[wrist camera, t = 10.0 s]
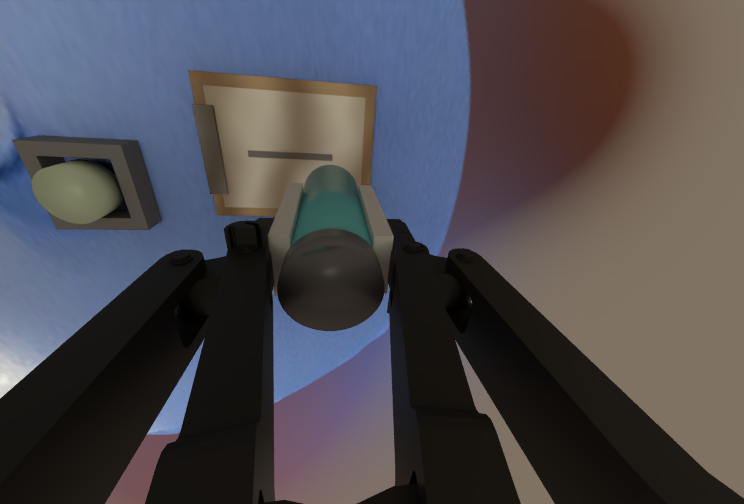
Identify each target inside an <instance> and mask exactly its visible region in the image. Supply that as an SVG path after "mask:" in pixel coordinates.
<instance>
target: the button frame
mask: <svg viewBox="0 0 744 504" xmlns="http://www.w3.org/2000/svg"><path fill="white" fill-rule="evenodd" d="M12 141H13V143H14V145H15V147H16V149H17V151H18V153H19V155H20V157H21V159H22V161H23V163H24V165H25V167H26V169H27V171H28V173H29V175H30V177H31V179H33V177H34V175H35V174H36V172H38V171H39V170H41V169H43V168H46V167H50V166H53V165H57V164H61V163H64V162H65V161H64V159H63V157H76V158H100V159H110V160H111V163H112V165H113V168H114V171H115V174H116V177H117V179H118V182H119V185H120V188H121V191H122V193H123V196H124V199H125V202H126V205H127V207H128V209H118V208H117V209H115V210H114V211H112V212H110V213H108V214H107V215H105V216H103V217H101V218H100V219H98V220H96V221H94V222H92V223H88V224H75V223H70V222H67V221H64V220H62V219H59V218H57V217H56V216H54V215H52V214H51V213H49V212H48V213H49V215H50V217H51V219H52V221H53V223H54V225H55V227H56V229H112V230H149V229H151V228H152V227H153V226H155V225H156V224H157V223H158V222H160V221H161V216H160V213H159V210H158V207H157V203H156V200H155V197H154V193H153V190H152V187H151V184H150V180H149V177H148V174H147V170H146V167H145V164H144V160H143V157H142V154H141V151H140V147H139V144H138V141H136V140H116V139H97V138H77V137H58V136H33V137H27V138H21V139H15V140H12Z"/></svg>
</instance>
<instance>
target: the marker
mask: <svg viewBox="0 0 744 504" xmlns="http://www.w3.org/2000/svg"><path fill="white" fill-rule="evenodd" d="M384 291H385V283H384V278H383V274H382V271H381V267H380V263H379V260H378V257H377V255H376V253H375V251H374V249H373V247H372V243H371V239H370V236H369V232H368V228H367V225H366V221H365V217H364V214H363V210H362V206H361V203H360V199H359V195H358V188H357V184H356V181H355V179H354V178H353V176H352V175H351V174H350V173H349V172H348V171H347V170H346V169H344V168H342V167H340V166H337V165H323V166H320V167H318V168H316V169H315V170H313V171H312V172H311V173H310V174H309V176H308V177H307V179H306V181H305V185H304V189H303V197H302V201H301V205H300V209H299V214H298V218H297V222H296V226H295V230H294V235H293V239H292V243H291V247H290V248H289V250H288V251H287V253H286V255H285V257H284V261H283V264H282V268H281V272H280V275H279V279H278V284H277V294H278V299H279V302H280V304H281V306H282V308H283V309H284V311H285V312H286V313H287V314H288V315H289V316H290V317H291V318H292V319H293V320H295V321H296V322H298V323H300V324H301V325H304V326H306V327H308V328H312V329H316V330H322V331H337V330H343V329H347V328H351V327H353V326H356V325H358V324H360V323H362V322H363V321H365V320H366V319H368V318H369V317H370V316H371V315H372V314H373V313H374V312H375V311H376V310H377V308H378V307H379V305H380V303H381V301H382V299H383V296H384Z"/></svg>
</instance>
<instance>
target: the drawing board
mask: <svg viewBox="0 0 744 504" xmlns="http://www.w3.org/2000/svg"><path fill="white" fill-rule="evenodd" d="M188 72H189V77H190V82H191V87H192V92H193V97H194V102H195V104H192V106H193V111H194V116H195V121H196V126H197V131H198V136H199V140H200V145H201V150H202V155H203V160H204V165H205V170H206V175H207V179H208V184H209V189H210V194H213V197H214V202H215V207H216V212H217V215H234V216H276V214H277V211H278V209H279V206H280V204H281V201H282V199H283V196H284V194H285V191H286V189H287V186H288V184H289V183H303V189H304V185H305V181H306V179H307V177H308V176H309V174H310V173H311V172H312V171H313V170H315V169H316V168H318V167H320V166H323V165H337V166H340V167H342V168H344V169H346V170H347V171H348V172H349V173H350V174H351V175H352V176H353V178H354V179H355V181H356V184H357V188H358V186H359V185H370V177H371V162H372V148H373V134H374V119H375V105H376V90H377V86H367V85H356V84H344V83H332V82H320V81H308V80H296V79H284V78H273V77H261V76H249V75H237V74H225V73H213V72H201V71H189V70H188Z"/></svg>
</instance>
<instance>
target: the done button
mask: <svg viewBox="0 0 744 504" xmlns="http://www.w3.org/2000/svg"><path fill="white" fill-rule="evenodd" d="M32 190H33V193H34V196H35V197H36V199H37V201H38V202H39V203H40V204H41V205H42V207H43V208H45V209H46V210H47V211H48V212H49V213H51V214H52V215H54V216H56V217H57V218H59V219H62V220H64V221H67V222H70V223H75V224H88V223H92V222H94V221H96V220H98V219H100V218H101V217H103V216H105V215H107V214H108V213H110V212H112V211H114V210H115V209H117V208H118V207H119V206H120V205H121V204H122V202H123V199H124V196H123V193H122V191H121V188H120V185H119V182H118V179H117V178H116V176H115V175H114V174H113V173H112V172H111V171H109V170H108V169H107V168H105V167H104V166H102V165H100V164H98V163H96V162H93V161H90V160H84V159H76V160H71V161H68V162H64V163H61V164H57V165H53V166H50V167H46V168H43V169H41V170H39V171H38V172H36V174H35V175H34V177H33V179H32Z"/></svg>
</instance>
